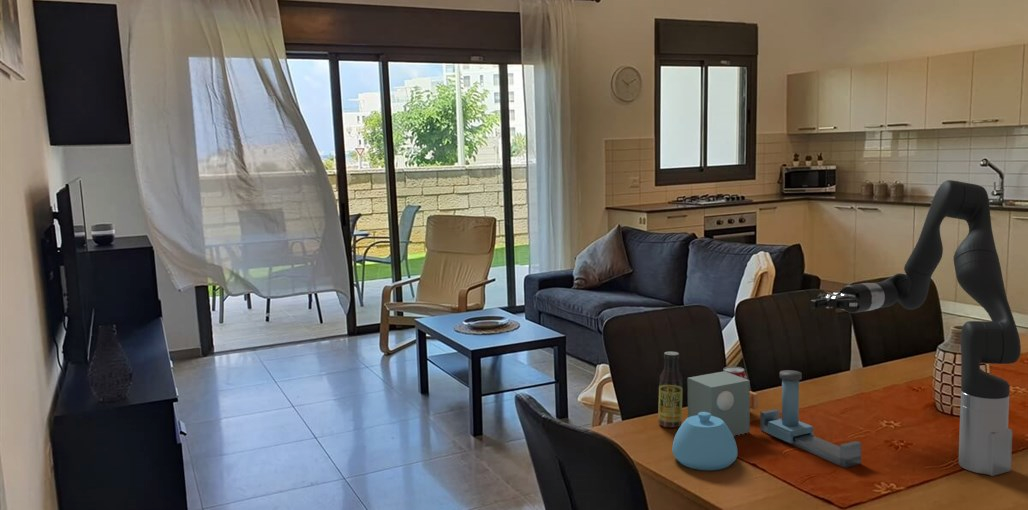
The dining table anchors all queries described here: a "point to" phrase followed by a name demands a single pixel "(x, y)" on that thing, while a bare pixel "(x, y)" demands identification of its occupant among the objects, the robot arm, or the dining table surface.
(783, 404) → the carriage
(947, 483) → the dining table surface
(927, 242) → the robot arm
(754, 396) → the plunger
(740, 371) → the soda can
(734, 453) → the sugar bowl
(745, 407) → the cabinet
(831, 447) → the rail
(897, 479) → the dining table surface
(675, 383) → the sauce bottle
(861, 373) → the dining table surface
